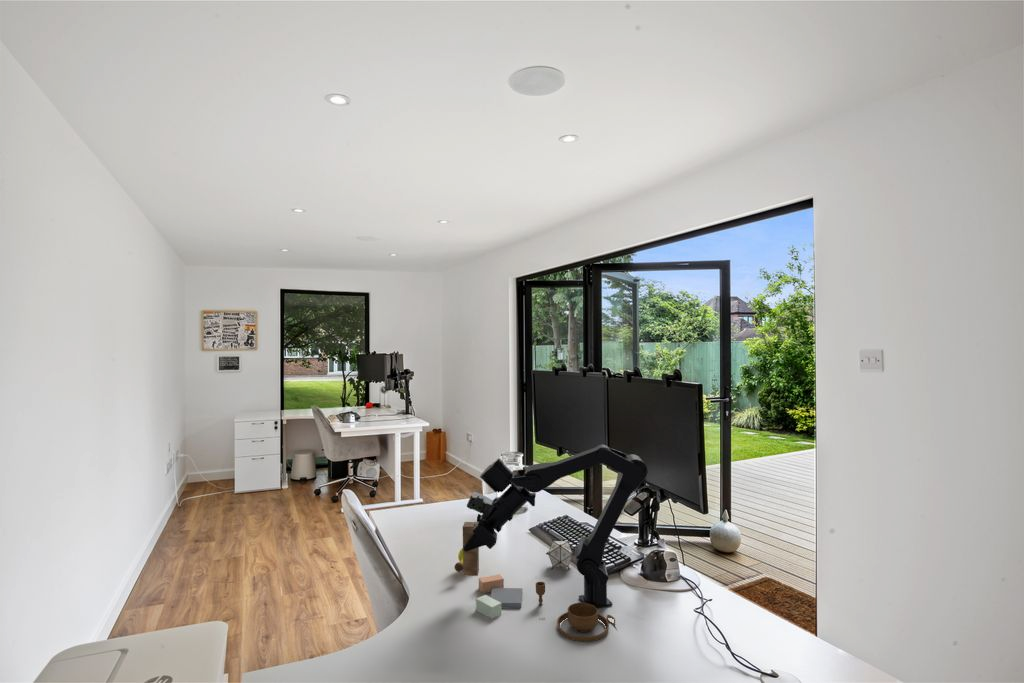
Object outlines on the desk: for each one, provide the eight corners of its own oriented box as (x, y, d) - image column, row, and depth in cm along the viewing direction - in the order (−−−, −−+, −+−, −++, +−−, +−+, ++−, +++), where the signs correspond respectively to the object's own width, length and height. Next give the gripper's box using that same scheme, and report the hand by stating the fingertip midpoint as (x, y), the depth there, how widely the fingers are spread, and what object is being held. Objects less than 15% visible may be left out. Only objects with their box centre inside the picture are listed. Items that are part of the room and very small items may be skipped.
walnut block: (478, 569, 144) (478, 522, 144) (477, 575, 141) (476, 526, 141) (465, 569, 145) (464, 521, 144) (463, 575, 141) (462, 526, 141)
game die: (564, 577, 163) (582, 547, 166) (564, 579, 155) (583, 547, 158) (539, 559, 166) (556, 530, 168) (537, 560, 158) (556, 529, 160)
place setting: (551, 649, 121) (551, 622, 121) (531, 605, 141) (531, 581, 140) (627, 640, 124) (627, 614, 124) (597, 598, 144) (597, 575, 144)
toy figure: (468, 585, 151) (468, 560, 151) (449, 583, 152) (448, 558, 152) (485, 558, 168) (484, 536, 168) (467, 557, 169) (467, 535, 169)
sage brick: (501, 615, 135) (501, 602, 135) (492, 619, 133) (492, 607, 133) (485, 606, 139) (485, 594, 139) (476, 610, 137) (476, 598, 137)
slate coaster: (522, 592, 146) (522, 588, 146) (521, 607, 138) (521, 603, 138) (492, 592, 146) (492, 587, 146) (489, 607, 138) (489, 602, 138)
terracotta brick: (499, 585, 151) (499, 574, 151) (503, 589, 148) (503, 578, 148) (478, 589, 149) (478, 578, 149) (482, 594, 146) (482, 582, 146)
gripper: (489, 473, 151) (449, 513, 152) (481, 492, 133) (436, 538, 134) (518, 502, 151) (478, 541, 152) (514, 526, 132) (469, 571, 133)
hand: (465, 547), depth 143 cm, fingers closed on walnut block, 4 cm apart
